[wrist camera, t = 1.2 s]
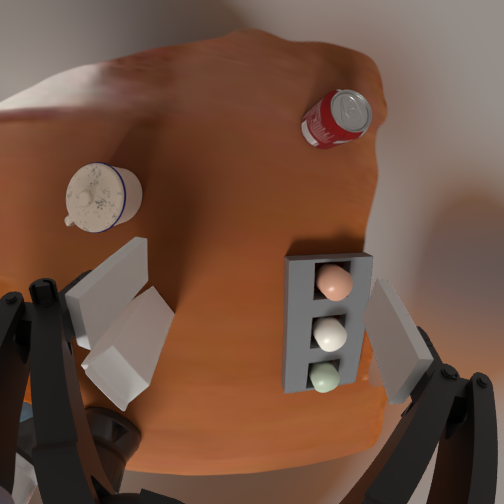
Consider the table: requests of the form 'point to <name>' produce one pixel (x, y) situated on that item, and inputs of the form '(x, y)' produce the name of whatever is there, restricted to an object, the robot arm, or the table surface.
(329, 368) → the button sage
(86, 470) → the robot arm
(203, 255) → the table surface
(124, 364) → the milk
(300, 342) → the button panel
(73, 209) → the teacup with lid
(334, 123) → the soda can
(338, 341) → the button cream
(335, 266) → the button terracotta
